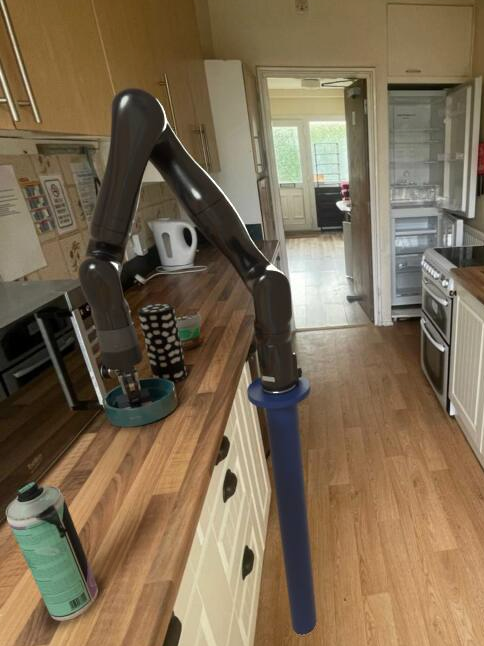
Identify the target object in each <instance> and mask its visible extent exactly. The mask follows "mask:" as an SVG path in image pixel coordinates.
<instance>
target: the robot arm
mask: <svg viewBox="0 0 484 646" xmlns="http://www.w3.org/2000/svg"><path fill="white" fill-rule="evenodd" d="M109 112H110V117H111V118H110V140H109V147H108V154H107V159H106V165H105V169H104V172H103V175H102V179H101V182H100V186H99V189H98V192H97V195H96V199H95V202H94V205H93V211H92V215H91V219H90V222H89V223H90V224H89V229H88V230H89V231H88V232H89V239H88V243H87V245H86V246H87V247H86V250H85V253H84V257H83V260H82V261H81V262H80V263H79V265H78V267H77V278H78V282H79V285H80V288H81V290H82V293H83V295H84V297H85V299H86V302H87V304H88V305H89V307H90V311H91V312H90V313H91V317H92V321H93V324H94V328H95V335H96V340H97V344H98V347H99V351H100V354H101V358H102V361H103V362H102V363H103V366H104V367H105V368H106V369H108V370H112V371H115V373H116V377H117V380H118V382H119V385H121V387H122V390H123V393H124V394H127V398H128V400H127V401H128V403H129V404H130V407H131V408H135V407H141V406H142V405H141V401H142V400H141V399H142V397H141V395H140V391H139V390H140V389H141V388H140V384H139V381H138V380H139V379H140V378H139V377H140V376H139V372H138V370H137V368H136V366H137V365H139V364H140V363H141V362H142V361H143V359H144V355H143V353H142V349H141V345H140V344H141V343H140V341H139V336H138V332H137V329H136V327H135V324H134V322H133V321H134V320H133V317H132V312H131V308H130V306H129V305H130V304H129V303H128V301H127V299H126V298H125V295H124V291H123V287H122V282H121V275H122V271H123V268H124V267H123V266H124V262H125V257H126V250H127V245H128V243H129V241H130V238H131V235H132V231H133V228H134V223H135V220H136V216H137V213H138V206H139V201H140V195H141V191H142V184H143V180H144V176H145V172H146V170H147V166H148V164H149V162H150V163H151V165H152V166H153V167H154V168H155V169H156V171H157V173H159V175H160V176H161V179H163V181H164V182H165V184H166V186H167V187H168V188H169V191H170V192H171V194H172V196H173V197H174V199H175V200H176V202H177V204H178V205H179V206H180V207H181V209H182V210H183V211H184V213H185V214H186V216H187V217H188V219H190V221H191V222H192V223H193V224H194V226H195V227H196V228H197V229H198V231H199V232H200V233H201V234H202V235H203V236H204V237H205V239H206V240H207V241H208V242H210V244H211V245H212V246H213V247H214V248H215V249H216V250H217V251H218V252H219V253H220V254H222V256H223V257H224V258H226V259H227V261H228V262H229V263H230V264H231V266H232V268H233V269H234V270H235V272H236V273H237V274H238V276H239V278H240V279H241V281H242V282H243V284H244V286H245V289H246V290H247V291H248V292H249V294H250V295H251V297H252V300H253V309H254V319H253V332H254V340H255V347H256V355H257V362H258V363H257V364H258V372H259V378H260V380H261V390H262V391H263V392H264V393H266V394H269V395H282V394H286V393H289V392H291V391H292V390H294V389H295V388H296V387H298V386H299V379H298V378H300V377H302V375H303V370H302V366H300V365H299V364H298V356H297V354H296V353H295V352H294V346H293V334H292V318H293V304H292V303H293V301H292V291H291V283H290V280H289V278H288V277H287V275H285V273H283V272H282V271H281V270H279V269H278V268H277V267H275V266H274V265H273V264H272V263H271V262H270V261H269V260H268V259H267V257H266V256H265V255H264V254H263V253H262V251H261V250H259V249H258V247H257V246H256V244H255V242H254V241H253V240H252V238H251V236H250V234H249V232H248V230H247V228H246V225H245V223H244V221H243V220H242V218H241V217H240V215H239V213H238V212H237V210H236V208H235V207H234V205H233V203H231V201H230V199H229V198H228V197H227V196H226V194H225V193H224V192H223V190H222V189H221V188H220V187H219V185H218V184H217V183H216V182H215V180H213V178H212V177H211V176H210V175H209V173H207V171H205V170H204V169H203V168H202V166H200V165H199V164H198V163H197V161H195V159H194V158H193V157H192V156H191V155H190V154H189V153H188V151H187V150H186V148H185V147H184V145H183V144H182V143H181V141H180V140H179V138H178V136H177V135H176V134H175V132H174V131H173V129H172V127H171V125H170V123H169V121H168V120H167V116H166V112H165V110H164V107H163V105H162V104H161V103H160V101H159V100H158V98H156V96H154V95H153V94H151V92H149V91H147V90H145V89H142V88H140V87H139V88H138V87H126V88H123V89H121V90H119V91H118V92H116V94H114V96H113V97H112V99H111V101H110V106H109ZM136 395H137V396H136ZM132 396H134V397H132Z"/></svg>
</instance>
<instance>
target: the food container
mask: <svg viewBox="0 0 484 646" xmlns="http://www.w3.org/2000/svg"><path fill="white" fill-rule="evenodd" d="M201 320H202V317H201V314H200V313H199V311H198V310H197V311H196V313H194V314H191V315H182V316H178V317H177V316H176V321H177V326H178V331H179V336H180V341H181V346H182V351H186V350H191V349H194V348H197V347H198V346H200V345H201V342H202V341H201V327H200V322H201Z"/></svg>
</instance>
